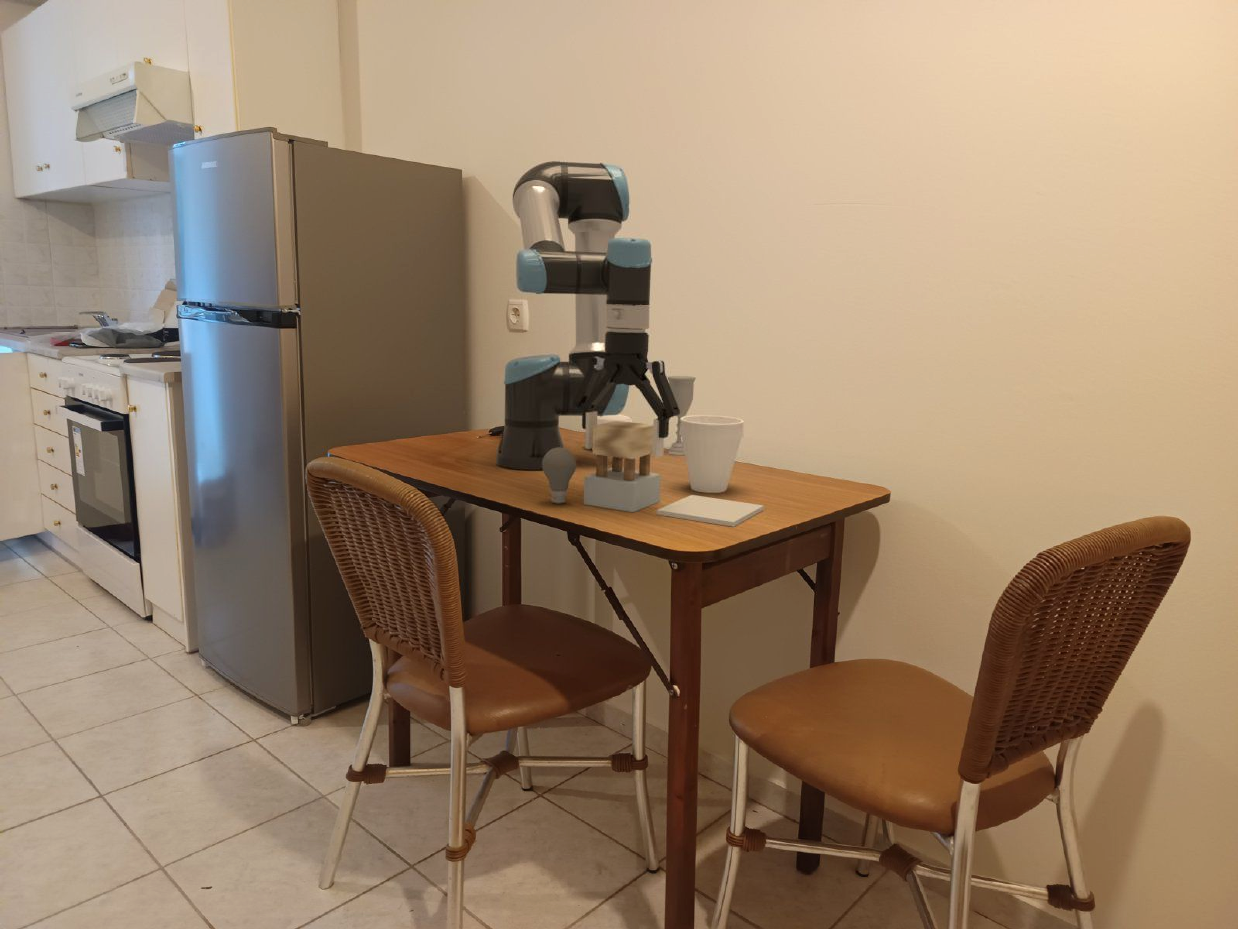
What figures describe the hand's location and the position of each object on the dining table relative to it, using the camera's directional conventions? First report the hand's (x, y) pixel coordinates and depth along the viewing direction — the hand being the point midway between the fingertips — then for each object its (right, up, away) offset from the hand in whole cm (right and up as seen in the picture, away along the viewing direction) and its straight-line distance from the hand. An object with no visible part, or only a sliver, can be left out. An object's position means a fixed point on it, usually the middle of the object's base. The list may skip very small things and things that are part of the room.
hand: (623, 452), depth 155 cm
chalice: (+13, 0, +53) cm, 55 cm away
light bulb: (-12, -9, 0) cm, 15 cm away
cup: (+17, -7, +15) cm, 24 cm away
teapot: (-3, +1, +56) cm, 57 cm away
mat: (+15, -10, -3) cm, 19 cm away
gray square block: (0, -9, +2) cm, 9 cm away
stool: (0, -4, +1) cm, 4 cm away
